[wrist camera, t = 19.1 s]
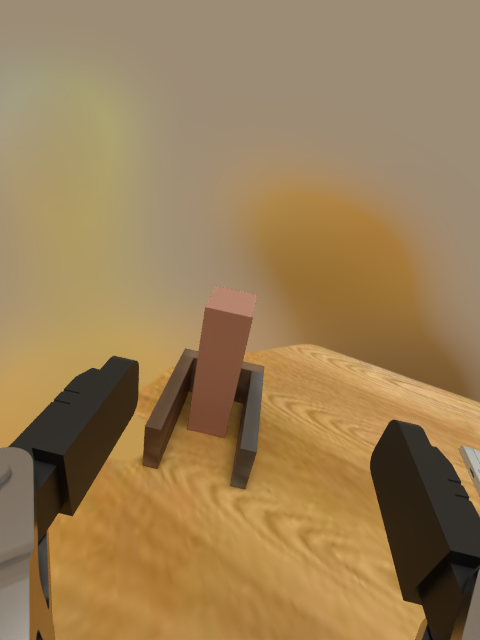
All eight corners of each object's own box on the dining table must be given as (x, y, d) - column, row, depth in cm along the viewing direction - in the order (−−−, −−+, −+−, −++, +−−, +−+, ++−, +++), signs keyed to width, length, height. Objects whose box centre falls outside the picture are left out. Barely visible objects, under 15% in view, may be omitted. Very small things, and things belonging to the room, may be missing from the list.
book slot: (255, 398, 43) (264, 366, 41) (245, 489, 31) (256, 452, 29) (181, 381, 44) (185, 348, 41) (142, 465, 32) (145, 426, 29)
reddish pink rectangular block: (231, 405, 41) (257, 294, 34) (225, 438, 37) (252, 317, 29) (198, 397, 42) (216, 285, 34) (187, 429, 37) (205, 306, 29)
